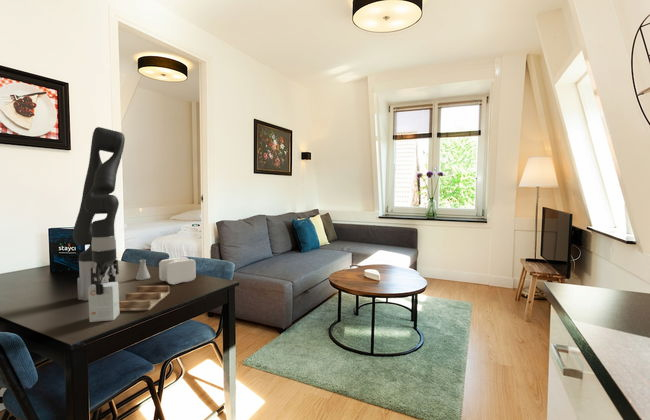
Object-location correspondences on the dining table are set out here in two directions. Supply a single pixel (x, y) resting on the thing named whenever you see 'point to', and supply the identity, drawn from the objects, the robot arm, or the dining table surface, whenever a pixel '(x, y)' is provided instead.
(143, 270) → the flask
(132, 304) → the slot rack
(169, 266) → the cable organizer
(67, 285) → the dining table surface
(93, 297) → the small box
